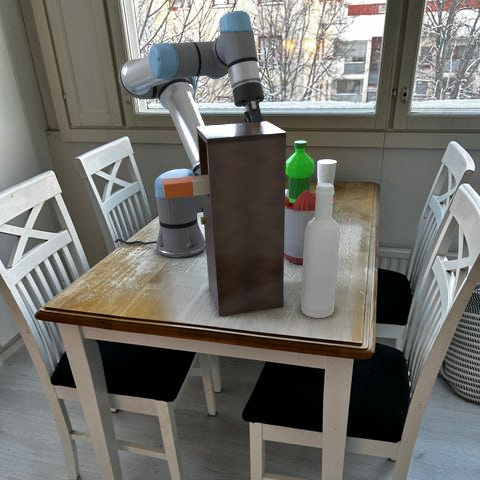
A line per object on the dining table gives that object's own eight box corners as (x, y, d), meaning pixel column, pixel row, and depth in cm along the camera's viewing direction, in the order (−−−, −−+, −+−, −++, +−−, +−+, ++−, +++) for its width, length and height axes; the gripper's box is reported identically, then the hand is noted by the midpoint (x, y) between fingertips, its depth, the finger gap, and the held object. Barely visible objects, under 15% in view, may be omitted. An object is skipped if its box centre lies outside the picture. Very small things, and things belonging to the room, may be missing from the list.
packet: (165, 198, 98) (163, 184, 96) (163, 192, 102) (161, 178, 100) (265, 188, 102) (265, 174, 100) (260, 183, 106) (260, 169, 104)
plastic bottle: (281, 217, 168) (282, 144, 155) (288, 207, 176) (289, 138, 163) (308, 219, 165) (311, 145, 152) (314, 209, 173) (317, 139, 160)
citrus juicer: (311, 241, 148) (314, 177, 137) (340, 262, 134) (347, 193, 123) (266, 250, 143) (266, 185, 133) (292, 272, 129) (294, 201, 119)
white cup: (337, 184, 201) (339, 160, 195) (330, 188, 195) (332, 164, 190) (320, 182, 204) (322, 158, 199) (313, 186, 199) (314, 162, 193)
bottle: (316, 322, 107) (324, 193, 91) (294, 308, 112) (297, 184, 96) (341, 311, 111) (353, 185, 95) (318, 298, 116) (325, 177, 100)
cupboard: (267, 281, 125) (267, 121, 104) (283, 307, 113) (286, 132, 92) (205, 290, 122) (191, 127, 101) (214, 317, 110) (201, 139, 89)
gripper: (267, 67, 100) (285, 168, 105) (257, 95, 124) (271, 176, 129) (233, 74, 100) (252, 175, 105) (229, 100, 124) (245, 181, 129)
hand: (263, 176), depth 117 cm, fingers open, 13 cm apart
